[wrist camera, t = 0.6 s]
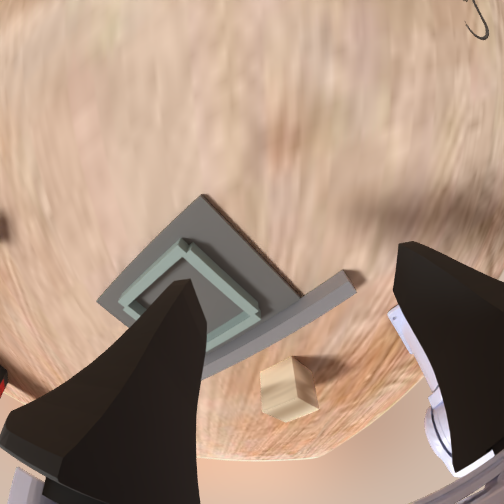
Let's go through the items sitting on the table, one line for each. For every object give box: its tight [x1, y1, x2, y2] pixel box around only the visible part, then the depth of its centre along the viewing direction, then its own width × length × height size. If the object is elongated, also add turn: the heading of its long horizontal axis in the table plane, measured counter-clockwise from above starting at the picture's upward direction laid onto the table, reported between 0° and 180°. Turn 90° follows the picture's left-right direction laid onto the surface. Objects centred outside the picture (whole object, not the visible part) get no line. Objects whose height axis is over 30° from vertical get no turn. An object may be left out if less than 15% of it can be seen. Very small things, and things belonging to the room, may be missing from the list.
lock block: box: [260, 356, 319, 422], centre depth 25 cm, size 4×4×5 cm
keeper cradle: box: [96, 194, 301, 356], centre depth 21 cm, size 11×14×2 cm
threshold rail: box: [201, 270, 357, 380], centre depth 23 cm, size 2×22×2 cm, turn 130°
